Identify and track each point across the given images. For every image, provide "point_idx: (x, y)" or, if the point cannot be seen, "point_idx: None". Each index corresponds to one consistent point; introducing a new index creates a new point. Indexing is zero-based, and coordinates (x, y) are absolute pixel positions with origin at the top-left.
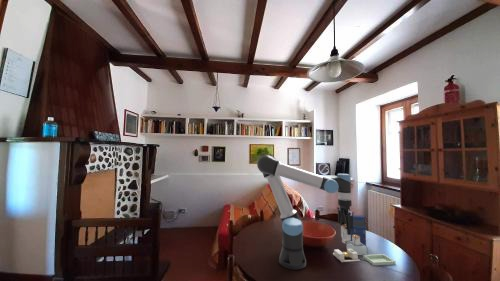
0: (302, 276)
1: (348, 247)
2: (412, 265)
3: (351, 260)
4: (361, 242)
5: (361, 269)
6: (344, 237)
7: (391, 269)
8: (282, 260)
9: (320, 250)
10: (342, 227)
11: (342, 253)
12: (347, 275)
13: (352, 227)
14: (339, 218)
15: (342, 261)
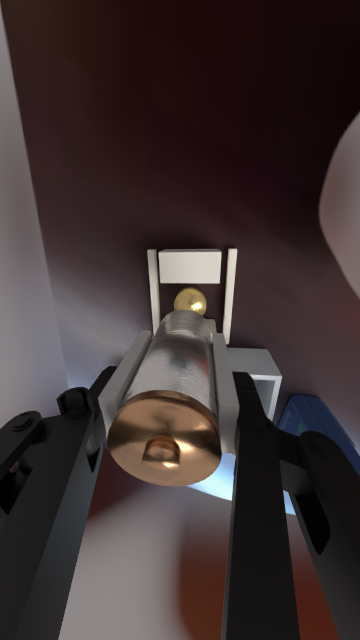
0: None
1: (255, 359)
2: None
3: (153, 304)
4: None
5: (99, 307)
6: (158, 333)
7: None
8: None
9: (306, 196)
10: (155, 386)
11: (166, 276)
12: (45, 215)
13: (15, 468)
14: (356, 565)
15: (148, 256)
